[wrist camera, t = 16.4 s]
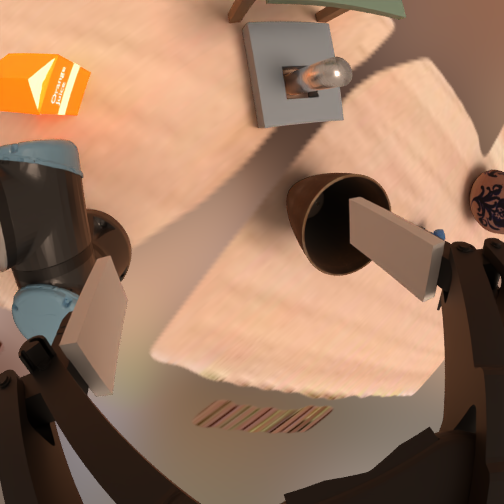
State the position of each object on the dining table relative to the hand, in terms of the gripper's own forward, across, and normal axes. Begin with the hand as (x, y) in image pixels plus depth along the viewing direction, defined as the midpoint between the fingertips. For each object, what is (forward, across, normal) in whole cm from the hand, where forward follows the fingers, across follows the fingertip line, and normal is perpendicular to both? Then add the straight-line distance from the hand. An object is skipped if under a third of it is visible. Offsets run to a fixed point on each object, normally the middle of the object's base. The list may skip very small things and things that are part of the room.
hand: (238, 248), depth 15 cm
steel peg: (+35, -18, -11) cm, 41 cm away
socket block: (+35, -18, -13) cm, 41 cm away
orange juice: (+35, +20, -19) cm, 44 cm away
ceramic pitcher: (+35, -77, +17) cm, 86 cm away
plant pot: (+35, -18, +10) cm, 41 cm away
